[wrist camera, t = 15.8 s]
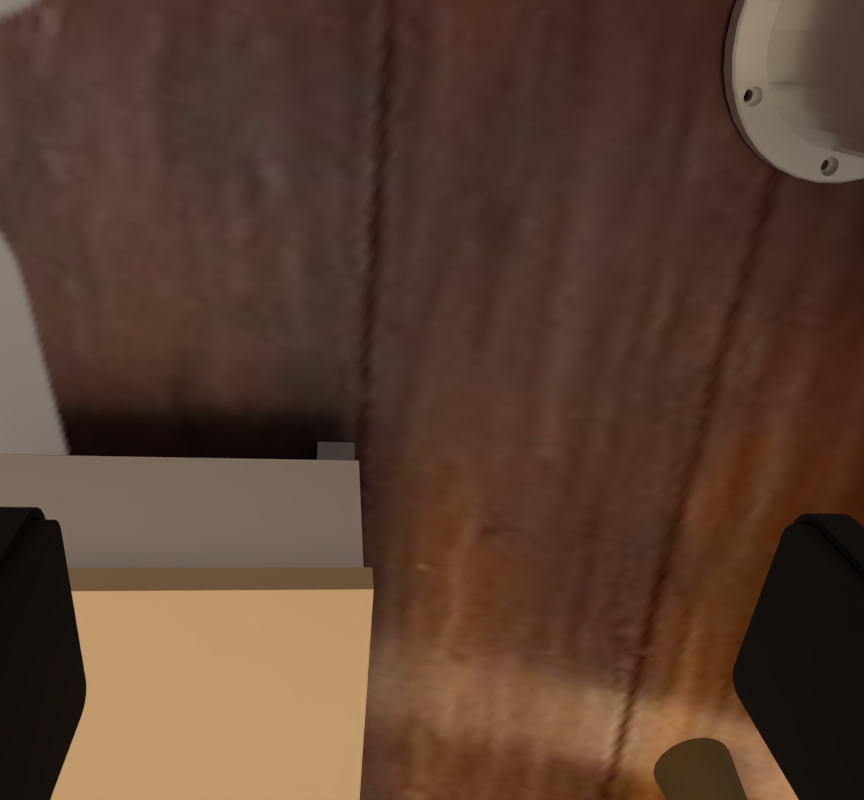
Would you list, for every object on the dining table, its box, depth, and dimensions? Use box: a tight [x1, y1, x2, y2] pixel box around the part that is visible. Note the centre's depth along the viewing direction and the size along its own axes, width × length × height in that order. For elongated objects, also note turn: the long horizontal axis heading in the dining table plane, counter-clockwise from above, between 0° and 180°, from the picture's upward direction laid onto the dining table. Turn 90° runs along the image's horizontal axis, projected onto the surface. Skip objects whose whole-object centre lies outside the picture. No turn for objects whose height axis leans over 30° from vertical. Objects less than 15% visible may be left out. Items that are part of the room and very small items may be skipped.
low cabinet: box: [0, 442, 374, 800], centre depth 35 cm, size 17×19×15 cm
